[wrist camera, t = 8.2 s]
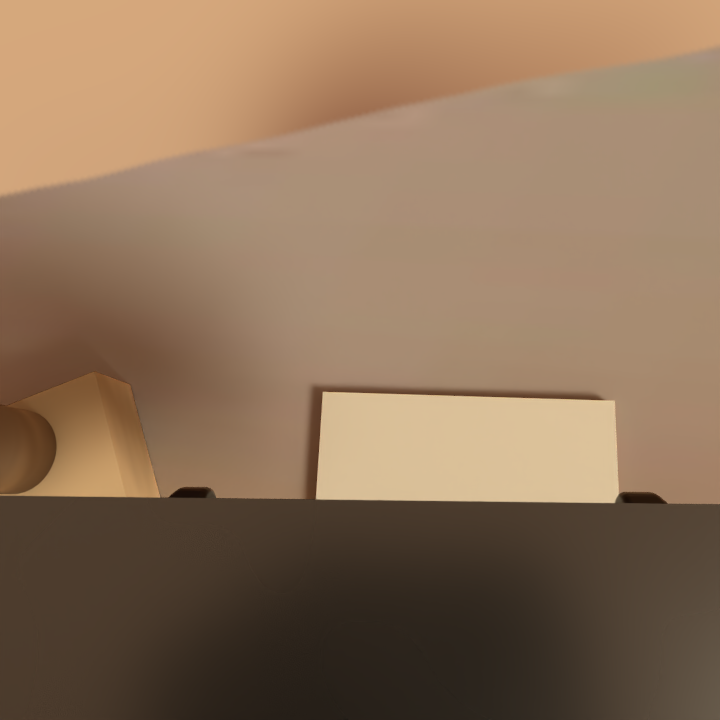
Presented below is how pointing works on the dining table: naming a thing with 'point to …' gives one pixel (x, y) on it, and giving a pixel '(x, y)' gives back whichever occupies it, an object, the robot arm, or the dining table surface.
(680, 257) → the dining table surface
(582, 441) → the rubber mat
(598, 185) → the dining table surface
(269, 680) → the lever cap
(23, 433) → the plane body
